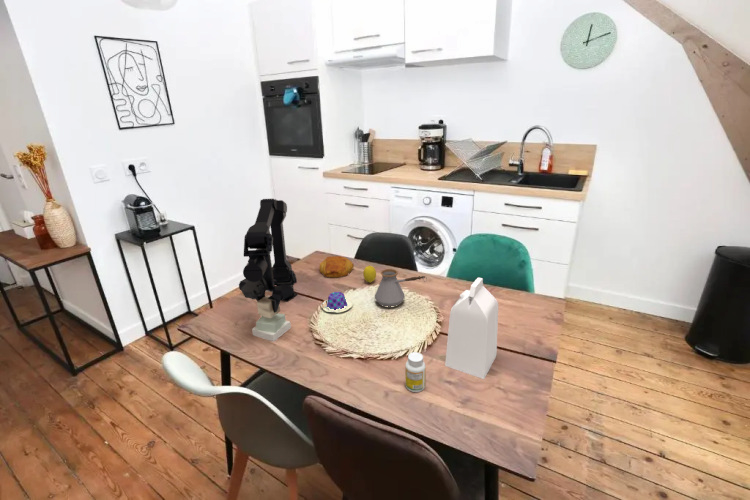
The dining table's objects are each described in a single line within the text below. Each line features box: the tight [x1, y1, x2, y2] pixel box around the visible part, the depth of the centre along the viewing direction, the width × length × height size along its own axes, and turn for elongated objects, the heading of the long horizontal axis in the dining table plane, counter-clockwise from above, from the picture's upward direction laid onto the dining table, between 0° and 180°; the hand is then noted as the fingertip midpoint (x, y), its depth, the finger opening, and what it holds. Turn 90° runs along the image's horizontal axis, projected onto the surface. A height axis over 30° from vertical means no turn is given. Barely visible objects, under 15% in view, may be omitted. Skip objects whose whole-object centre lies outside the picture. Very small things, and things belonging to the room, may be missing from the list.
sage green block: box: [255, 312, 287, 333], centre depth 130 cm, size 7×7×3 cm
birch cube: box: [256, 294, 281, 318], centre depth 128 cm, size 5×5×5 cm
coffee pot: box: [374, 268, 428, 308], centre depth 142 cm, size 21×12×15 cm, turn 54°
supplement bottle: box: [404, 351, 427, 393], centre depth 103 cm, size 5×5×10 cm
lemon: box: [362, 265, 377, 283], centre depth 163 cm, size 6×6×8 cm
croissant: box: [318, 255, 355, 279], centre depth 174 cm, size 14×16×8 cm
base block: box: [251, 320, 292, 342], centre depth 131 cm, size 9×9×3 cm
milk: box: [444, 277, 499, 380], centre depth 109 cm, size 12×12×26 cm
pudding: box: [322, 291, 348, 310], centre depth 145 cm, size 12×12×5 cm
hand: (269, 310), depth 128 cm, fingers closed on birch cube, 5 cm apart
